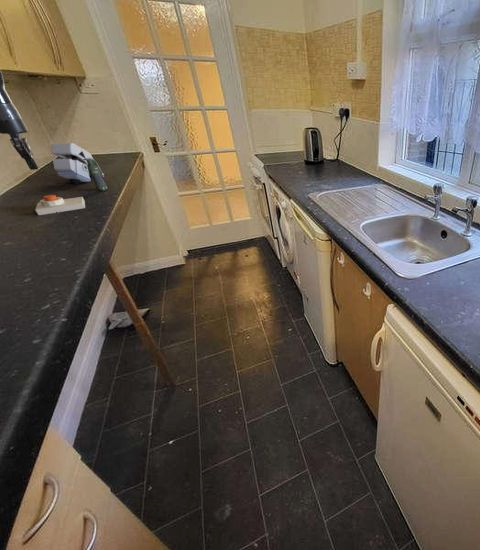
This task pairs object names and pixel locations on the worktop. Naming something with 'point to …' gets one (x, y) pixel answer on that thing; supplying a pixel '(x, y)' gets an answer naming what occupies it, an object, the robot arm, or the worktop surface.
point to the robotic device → (71, 162)
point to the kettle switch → (50, 197)
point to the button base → (59, 205)
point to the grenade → (96, 174)
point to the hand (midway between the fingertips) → (34, 169)
